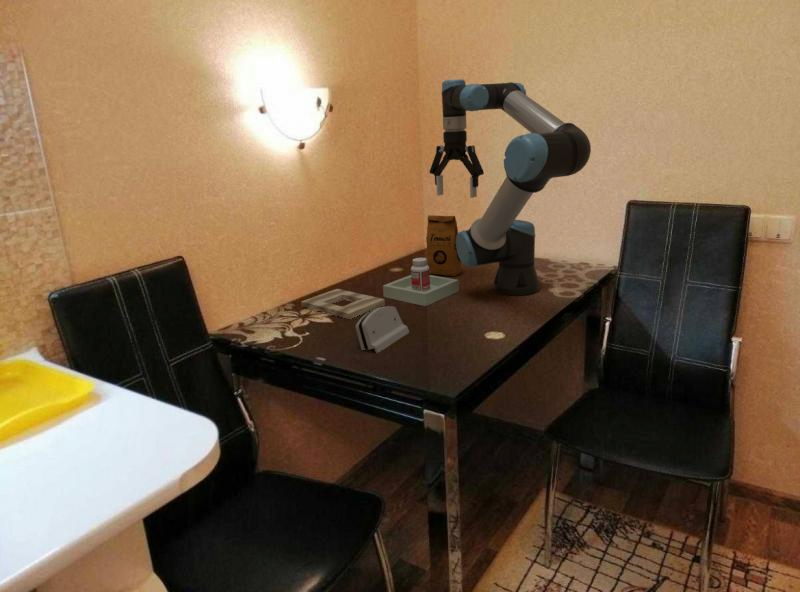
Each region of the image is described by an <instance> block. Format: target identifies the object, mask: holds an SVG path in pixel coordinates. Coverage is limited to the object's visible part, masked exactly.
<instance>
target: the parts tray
mask: <svg viewBox="0 0 800 592" xmlns="http://www.w3.org/2000/svg"><path fill="white" fill-rule="evenodd" d="M459 283H460V282H459V279H455V278H450V277H445V276H443V277H442V276H440V275H439V276H438V275H434V274H430V290H428V291H426V292H421V291H416V290H412V281H411V274H410V275H406V276H404V277H401V278H399V279H397V280H396V279H395V280H394V281H392V282H388V283H386V284H383V285H382V293H383V298H386V299H391V300H396V301H400V302H405V303H409V304H412V305H413V304H414V305H419V306H421V307H422V306H424V307H427V306H430V305H432V304H434V303H436V302H438V301H441V300H443V299H446V298H447V297H450V296H451V295H454V294H457V293H459V291H460V289H459V287H460V285H459Z"/></svg>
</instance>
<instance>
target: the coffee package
mask: <svg viewBox="0 0 800 592" xmlns="http://www.w3.org/2000/svg"><path fill="white" fill-rule="evenodd" d="M426 226H427V228H426V237H425V241H426V252H427V254H426V255H427V265H428V266H429V272H430V275H436V276H438V275H439V276H443V277H445V276H448V277H457V276H458V275H459V274H462V262H461V260H460V258H459V256H458V252H457V248H456V237H457V234H458V233H459V230H458V222H457V219H456V215H433V214H432V215H431V214H430V215H427V225H426Z"/></svg>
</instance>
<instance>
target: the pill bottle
mask: <svg viewBox="0 0 800 592" xmlns="http://www.w3.org/2000/svg"><path fill="white" fill-rule="evenodd" d="M410 275H411V281H412V290H416V291H421V292H426V291H428V290H430V275H431V274H430V272H429V266H428V258H426V257H416V258H413V259H412V266H411V267H410Z"/></svg>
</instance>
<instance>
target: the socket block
mask: <svg viewBox="0 0 800 592" xmlns="http://www.w3.org/2000/svg"><path fill="white" fill-rule="evenodd" d="M345 300H346V302H349V301H350V303H348V304H346V305H344V306H341V305H337V303H340V302H342V301H345ZM339 301H340V302H339ZM336 302H337V303H336ZM385 302H386V300H385V298H380V297H377V296H373V295H367V294H362V293H360V292H353V291H349V290H344V289H340V288H336V289H335V288H334V289H333V290H330V291H326V292H324V293H321V294H319V295H316V296H315V295H314V296H313V297H311V298H307V299H305V300H302V301H301V307H302V306H303V307H307V308H310V309H315V310H318V311H322V312H325V313H329V314H332V315H331V316H333V315H335V316H334V317H337V316H339V317H338V318H340V317H343V318H342V319H344V318H347V319H346V320H348V319H350V320H353V319H355V318H358V317H360V316H362V315H365V314H367V313H368V312H369V311H372V310H374V309H376V308H380V307H381V306H382V307H385V305H386V303H385ZM333 303H335V304H333ZM303 307H302V308H303ZM307 308H306V309H307ZM310 309H309V310H310ZM318 311H317V312H318ZM322 312H321V313H322ZM325 313H324V314H325ZM364 313H365V314H364ZM329 314H328V315H329ZM359 315H360V316H359ZM357 316H358V317H357ZM354 317H355V318H354ZM352 318H353V319H352Z"/></svg>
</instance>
